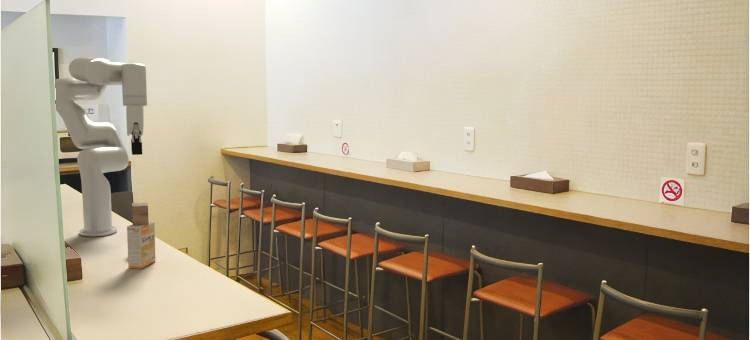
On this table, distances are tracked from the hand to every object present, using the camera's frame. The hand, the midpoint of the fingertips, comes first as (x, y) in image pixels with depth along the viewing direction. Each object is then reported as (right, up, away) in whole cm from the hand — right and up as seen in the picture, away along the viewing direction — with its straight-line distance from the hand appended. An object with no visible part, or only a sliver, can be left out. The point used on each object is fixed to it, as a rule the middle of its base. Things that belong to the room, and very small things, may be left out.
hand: (136, 152), depth 214 cm
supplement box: (+7, -35, -15) cm, 39 cm away
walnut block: (+8, -22, -17) cm, 29 cm away
